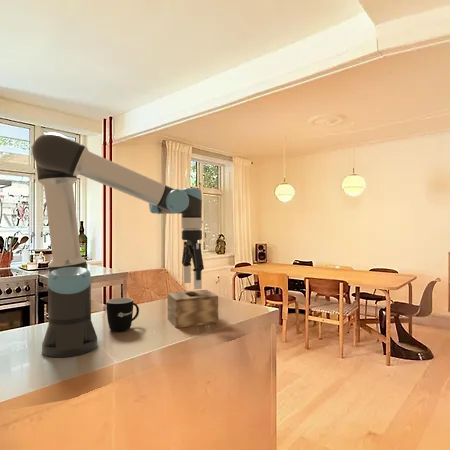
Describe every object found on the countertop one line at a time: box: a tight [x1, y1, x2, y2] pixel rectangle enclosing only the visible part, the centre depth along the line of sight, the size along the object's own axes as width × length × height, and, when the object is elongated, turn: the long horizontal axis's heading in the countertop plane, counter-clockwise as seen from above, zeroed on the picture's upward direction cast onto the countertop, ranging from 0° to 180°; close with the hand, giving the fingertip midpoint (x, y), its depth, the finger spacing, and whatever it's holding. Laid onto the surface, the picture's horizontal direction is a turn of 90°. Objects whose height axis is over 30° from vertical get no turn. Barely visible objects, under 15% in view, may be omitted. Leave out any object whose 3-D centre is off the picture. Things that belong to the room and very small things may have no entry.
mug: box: [105, 297, 140, 333], centre depth 126 cm, size 12×9×10 cm
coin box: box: [166, 289, 219, 329], centre depth 135 cm, size 16×13×10 cm
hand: (192, 285), depth 135 cm, fingers open, 13 cm apart
